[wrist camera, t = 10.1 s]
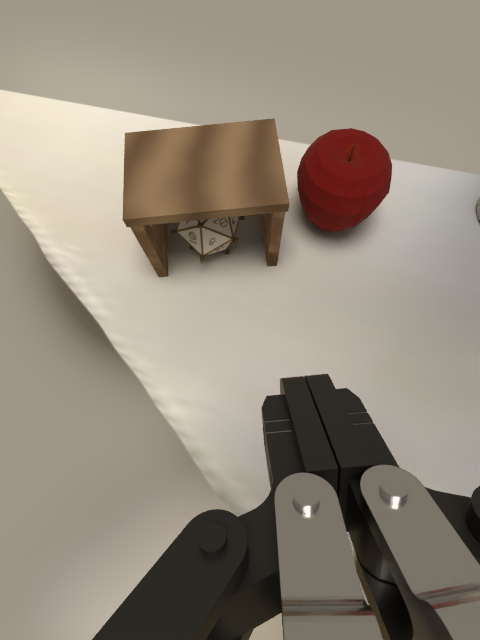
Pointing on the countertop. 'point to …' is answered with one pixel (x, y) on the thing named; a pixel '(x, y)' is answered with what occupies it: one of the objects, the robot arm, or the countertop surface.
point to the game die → (209, 234)
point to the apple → (343, 178)
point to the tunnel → (203, 181)
